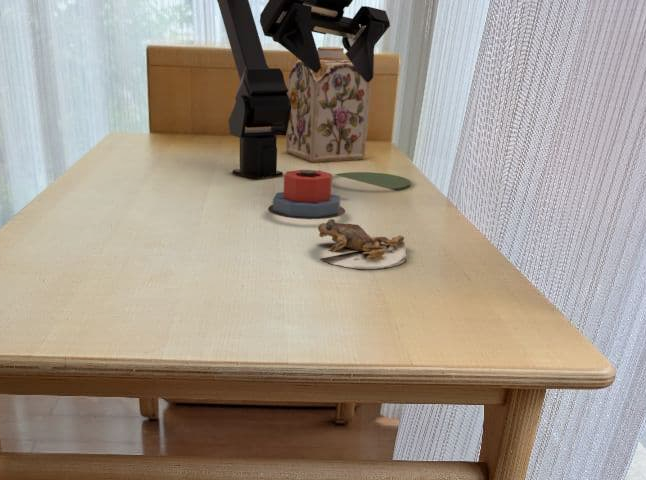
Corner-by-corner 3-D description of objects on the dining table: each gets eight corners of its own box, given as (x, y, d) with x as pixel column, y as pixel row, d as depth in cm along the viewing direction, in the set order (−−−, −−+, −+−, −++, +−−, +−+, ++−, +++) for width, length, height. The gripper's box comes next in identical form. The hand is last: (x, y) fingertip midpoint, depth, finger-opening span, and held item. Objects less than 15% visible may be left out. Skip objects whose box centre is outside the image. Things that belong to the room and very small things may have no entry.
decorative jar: (311, 163, 150) (316, 49, 140) (283, 152, 159) (287, 44, 149) (367, 159, 154) (376, 48, 144) (337, 149, 163) (344, 44, 153)
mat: (309, 179, 138) (309, 177, 137) (370, 171, 145) (370, 169, 144) (365, 195, 128) (366, 192, 128) (428, 185, 135) (428, 183, 135)
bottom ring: (261, 206, 116) (261, 195, 115) (311, 199, 121) (311, 187, 120) (301, 220, 110) (302, 207, 109) (352, 211, 115) (353, 199, 114)
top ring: (275, 195, 115) (275, 172, 113) (310, 190, 118) (311, 168, 116) (303, 204, 111) (305, 180, 109) (339, 199, 114) (341, 176, 112)
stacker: (252, 213, 117) (252, 168, 113) (311, 204, 122) (313, 161, 119) (300, 230, 110) (302, 182, 106) (361, 219, 115) (364, 174, 112)
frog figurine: (307, 266, 96) (309, 232, 94) (319, 239, 106) (320, 208, 103) (405, 272, 94) (409, 238, 92) (408, 245, 104) (411, 214, 102)
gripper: (286, -94, 101) (324, 14, 98) (396, -59, 111) (433, 40, 109) (243, -18, 110) (277, 82, 108) (348, 8, 120) (381, 100, 118)
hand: (344, 75), depth 110 cm, fingers open, 9 cm apart
